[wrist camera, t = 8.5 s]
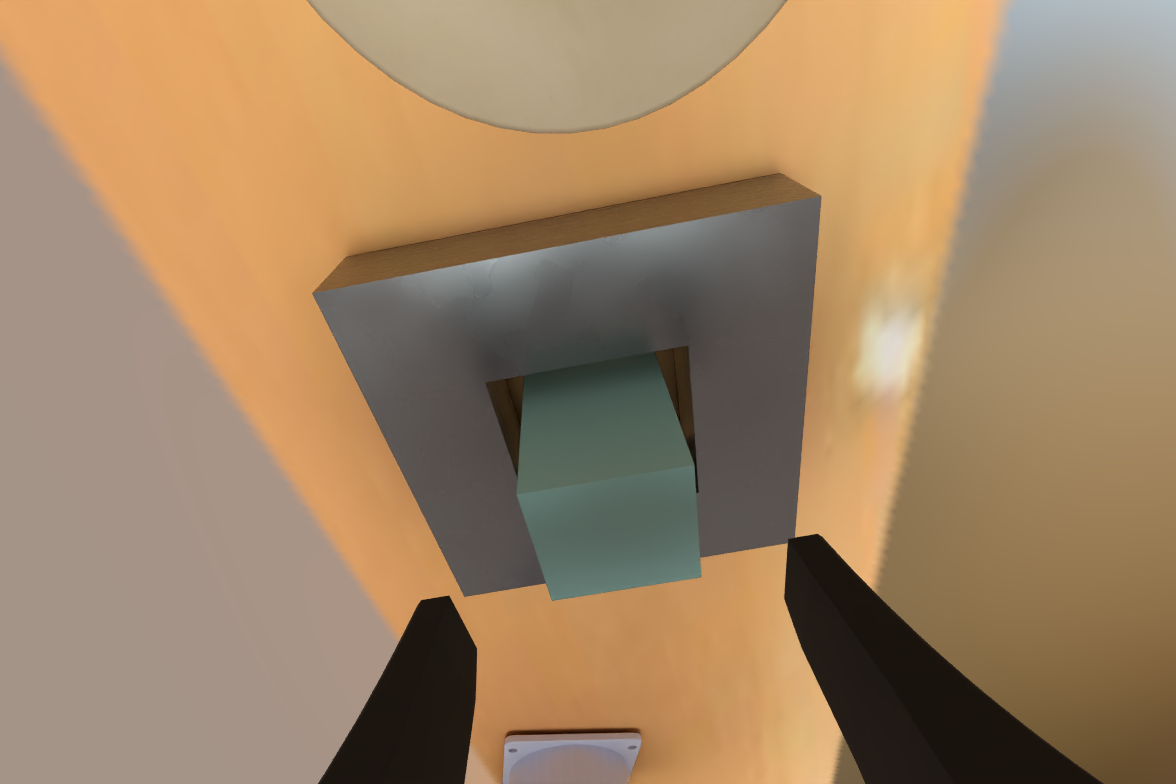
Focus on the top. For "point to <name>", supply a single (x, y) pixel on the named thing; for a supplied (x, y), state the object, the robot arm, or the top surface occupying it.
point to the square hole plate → (590, 354)
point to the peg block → (607, 478)
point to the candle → (549, 53)
